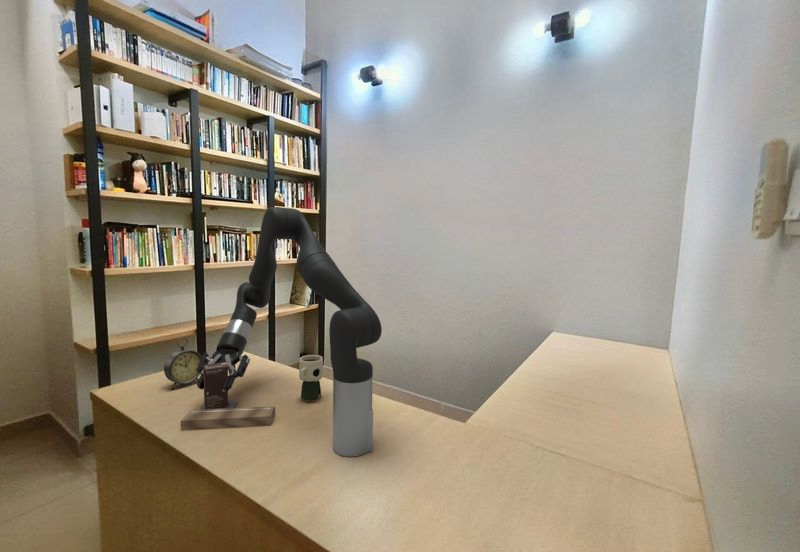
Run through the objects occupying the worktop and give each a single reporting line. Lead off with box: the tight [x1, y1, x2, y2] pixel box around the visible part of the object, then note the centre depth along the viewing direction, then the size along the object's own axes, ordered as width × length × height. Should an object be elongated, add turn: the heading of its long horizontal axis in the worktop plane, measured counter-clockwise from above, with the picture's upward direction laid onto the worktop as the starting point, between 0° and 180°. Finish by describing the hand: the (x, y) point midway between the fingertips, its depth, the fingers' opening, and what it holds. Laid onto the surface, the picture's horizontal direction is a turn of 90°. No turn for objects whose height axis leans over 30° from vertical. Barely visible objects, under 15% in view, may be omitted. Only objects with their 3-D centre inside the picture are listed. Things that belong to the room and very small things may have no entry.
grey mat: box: [198, 400, 239, 410], centre depth 103 cm, size 9×9×1 cm
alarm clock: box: [163, 336, 202, 390], centre depth 119 cm, size 11×5×16 cm, turn 148°
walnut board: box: [180, 405, 276, 431], centre depth 96 cm, size 22×6×3 cm, turn 99°
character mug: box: [298, 354, 324, 402], centre depth 111 cm, size 11×7×13 cm, turn 163°
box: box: [203, 362, 229, 409], centre depth 102 cm, size 6×4×12 cm
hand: (212, 389), depth 100 cm, fingers closed on box, 7 cm apart
